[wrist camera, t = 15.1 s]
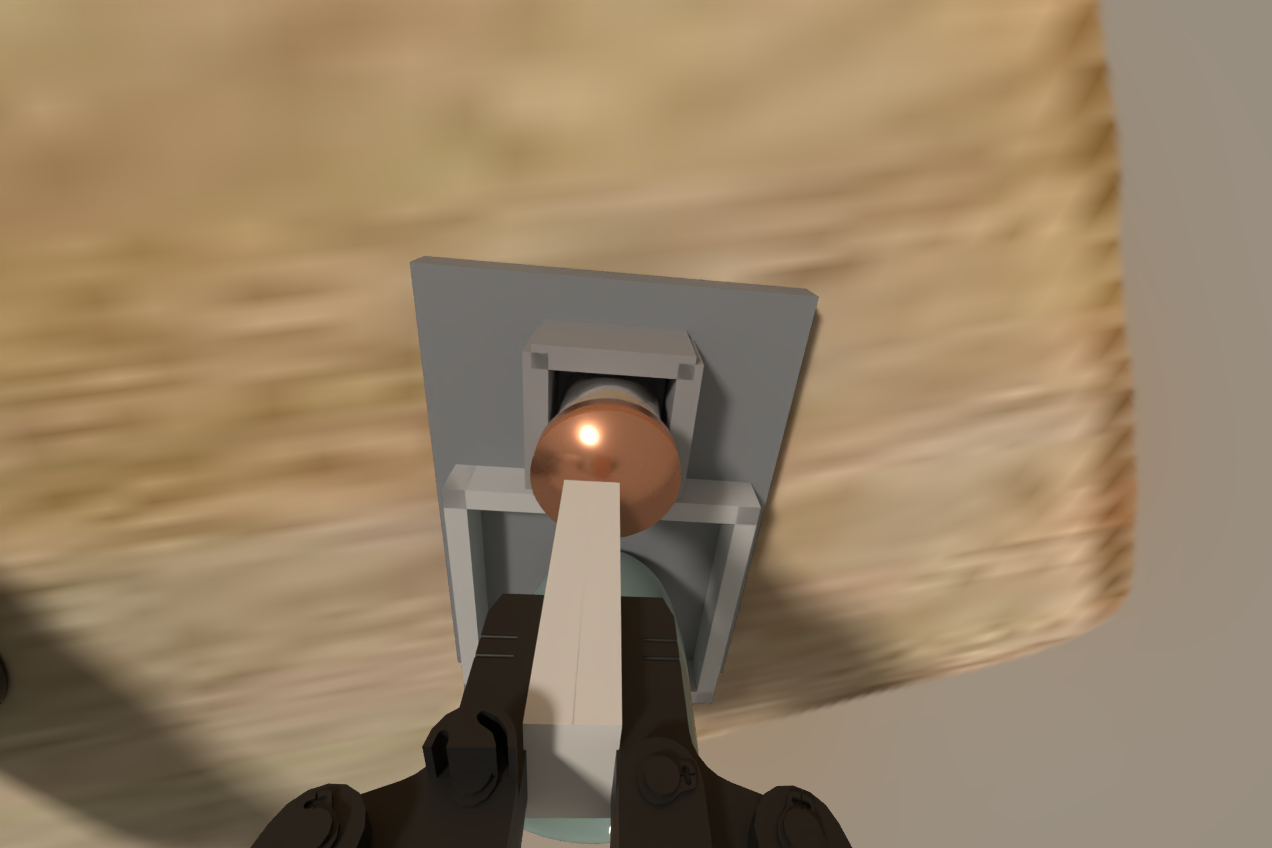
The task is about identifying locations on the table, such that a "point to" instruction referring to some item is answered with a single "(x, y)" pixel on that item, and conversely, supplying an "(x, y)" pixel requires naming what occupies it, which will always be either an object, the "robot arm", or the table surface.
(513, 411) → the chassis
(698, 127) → the table surface
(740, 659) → the table surface
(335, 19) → the table surface
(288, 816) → the robot arm
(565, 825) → the cup
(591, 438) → the plunger
